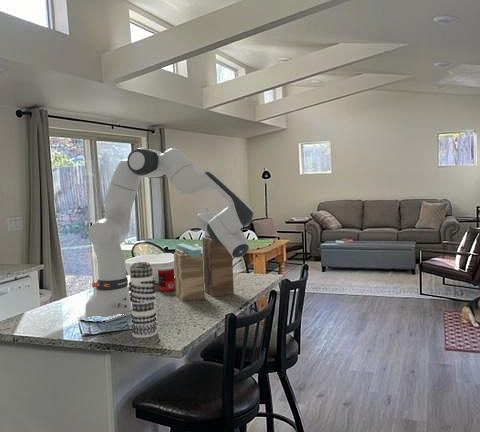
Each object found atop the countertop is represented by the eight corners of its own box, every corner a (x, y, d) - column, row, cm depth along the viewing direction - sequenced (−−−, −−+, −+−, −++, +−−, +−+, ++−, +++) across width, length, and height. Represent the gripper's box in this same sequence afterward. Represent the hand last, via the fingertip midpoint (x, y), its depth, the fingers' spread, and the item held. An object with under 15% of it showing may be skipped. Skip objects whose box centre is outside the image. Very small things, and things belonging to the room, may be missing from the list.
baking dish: (146, 274, 290) (145, 252, 290) (192, 275, 282) (191, 253, 281) (114, 287, 258) (113, 262, 257) (165, 289, 249) (164, 263, 249)
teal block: (200, 256, 217) (200, 249, 217) (192, 257, 216) (192, 250, 216) (183, 249, 241) (183, 243, 241) (176, 250, 240) (176, 244, 240)
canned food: (176, 288, 250) (175, 266, 249) (172, 291, 242) (171, 269, 241) (161, 288, 251) (160, 266, 250) (157, 292, 243) (156, 269, 242)
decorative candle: (160, 329, 181) (156, 260, 179) (154, 337, 172) (151, 265, 170) (135, 330, 181) (131, 261, 179) (128, 338, 172) (124, 265, 170)
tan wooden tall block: (204, 298, 227) (202, 250, 225) (183, 300, 223) (180, 252, 221) (196, 292, 238) (194, 247, 236) (175, 295, 234) (173, 249, 232)
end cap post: (233, 294, 232) (231, 233, 230) (213, 296, 228) (210, 235, 226) (224, 289, 243) (222, 231, 241) (204, 291, 239) (202, 233, 237)
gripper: (252, 219, 203) (240, 201, 214) (203, 222, 195) (193, 204, 206) (249, 232, 206) (237, 213, 217) (201, 236, 199) (192, 217, 209)
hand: (216, 209), depth 211 cm, fingers open, 8 cm apart
